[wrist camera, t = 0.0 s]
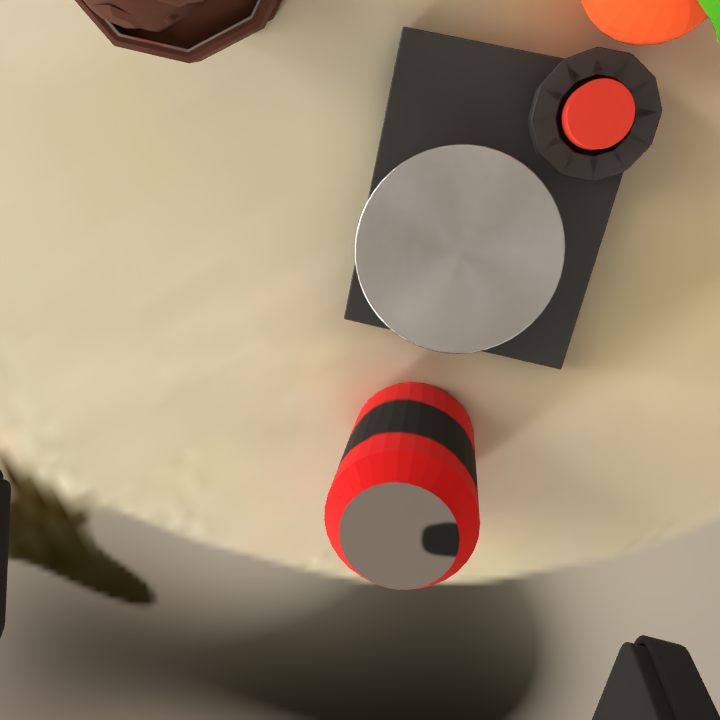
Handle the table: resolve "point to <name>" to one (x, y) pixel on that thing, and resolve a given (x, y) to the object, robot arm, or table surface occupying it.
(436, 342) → the pan
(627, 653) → the robot arm
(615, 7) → the clementine
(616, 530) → the table surface
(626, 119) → the button
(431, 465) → the soda can
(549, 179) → the scale
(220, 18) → the ice cream bowl
